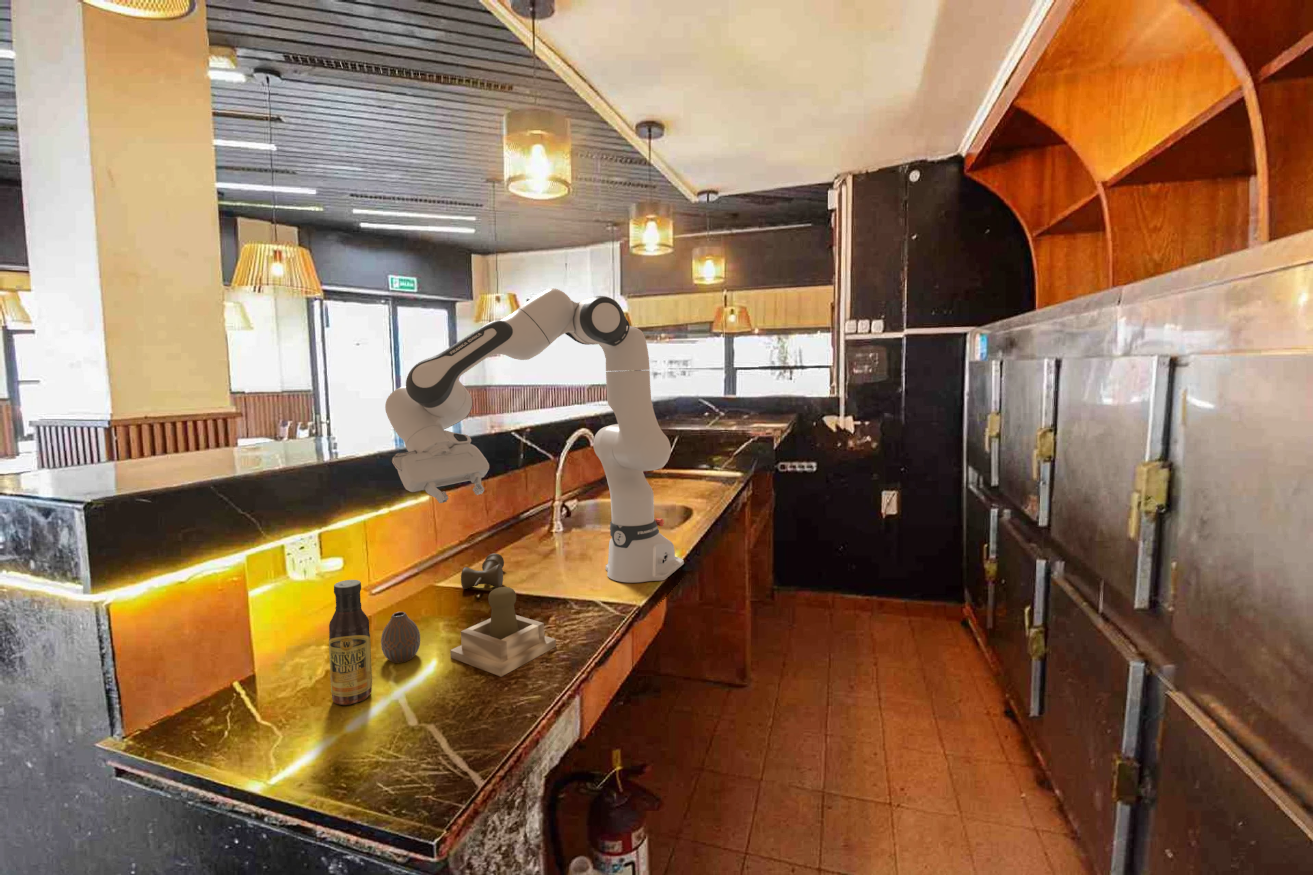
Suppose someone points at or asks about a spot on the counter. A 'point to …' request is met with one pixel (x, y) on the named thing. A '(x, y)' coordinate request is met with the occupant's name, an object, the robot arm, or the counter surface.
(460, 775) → the counter surface
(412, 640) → the vase
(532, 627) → the shaker holder
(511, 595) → the cork
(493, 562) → the kendama
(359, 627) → the sauce bottle
